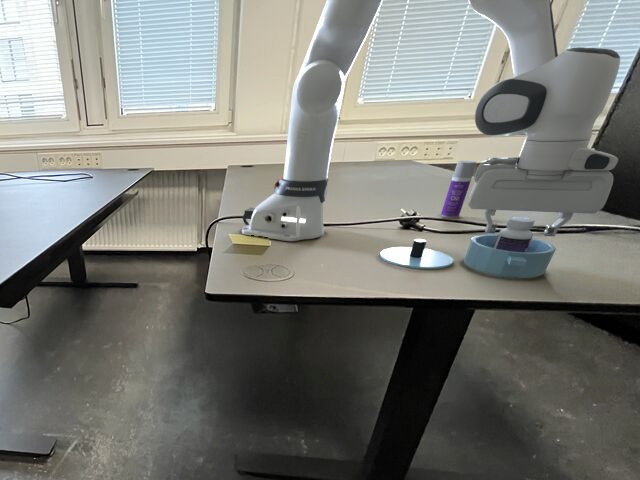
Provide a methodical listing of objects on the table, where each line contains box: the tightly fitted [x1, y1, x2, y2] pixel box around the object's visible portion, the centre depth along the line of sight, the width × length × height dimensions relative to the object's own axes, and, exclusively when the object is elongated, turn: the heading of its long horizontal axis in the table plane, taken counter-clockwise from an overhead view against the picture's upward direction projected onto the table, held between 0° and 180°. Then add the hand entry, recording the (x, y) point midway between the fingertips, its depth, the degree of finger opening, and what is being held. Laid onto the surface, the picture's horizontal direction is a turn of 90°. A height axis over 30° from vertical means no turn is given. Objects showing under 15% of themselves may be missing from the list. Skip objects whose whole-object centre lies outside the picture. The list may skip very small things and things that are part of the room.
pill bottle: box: [493, 216, 536, 252], centre depth 82 cm, size 5×5×10 cm
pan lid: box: [379, 238, 454, 270], centre depth 90 cm, size 14×14×5 cm
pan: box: [463, 233, 557, 278], centre depth 84 cm, size 13×19×5 cm
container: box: [440, 160, 477, 219], centre depth 119 cm, size 5×5×15 cm
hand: (518, 233), depth 81 cm, fingers open, 8 cm apart
